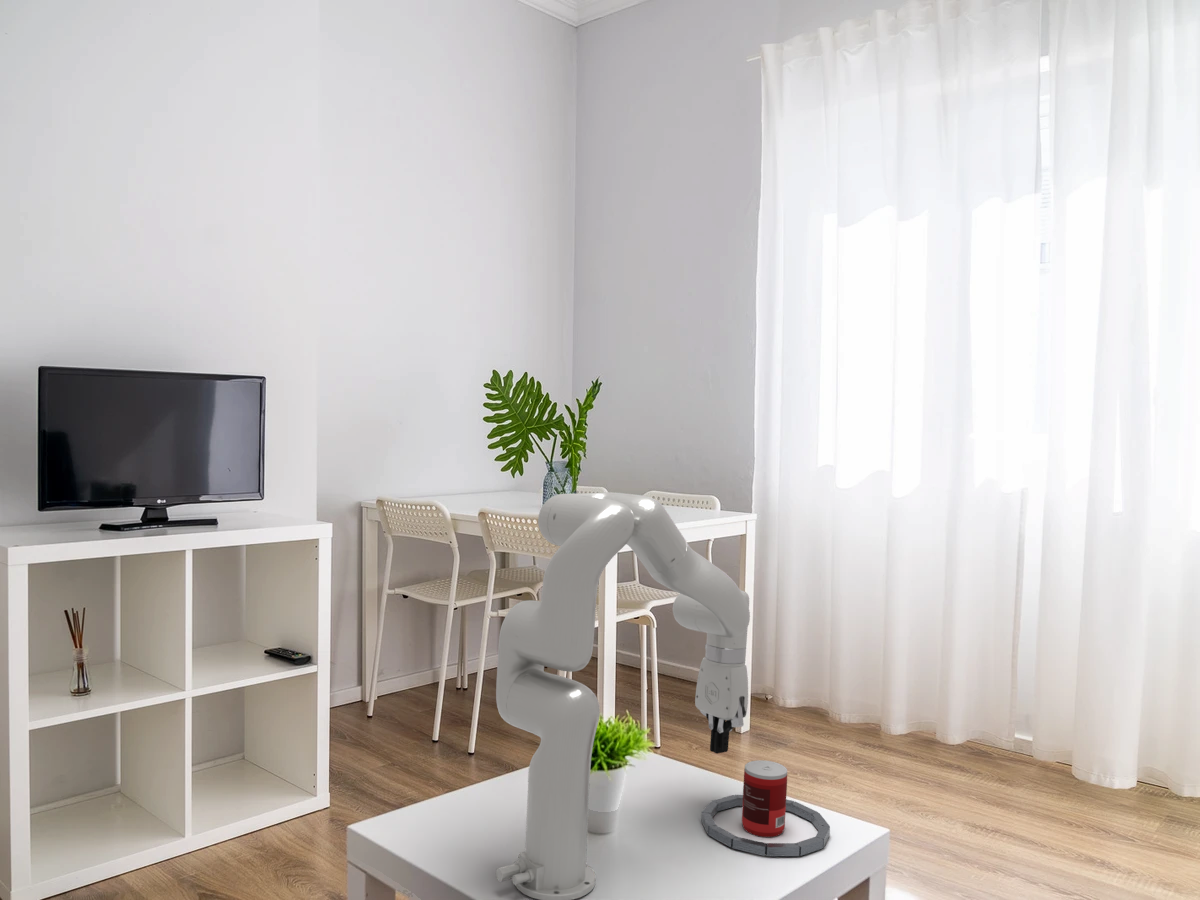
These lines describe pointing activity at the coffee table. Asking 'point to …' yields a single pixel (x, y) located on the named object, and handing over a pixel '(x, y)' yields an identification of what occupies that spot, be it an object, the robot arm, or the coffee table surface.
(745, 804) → the canned food
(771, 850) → the ring
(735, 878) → the coffee table surface
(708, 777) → the coffee table surface
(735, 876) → the coffee table surface
